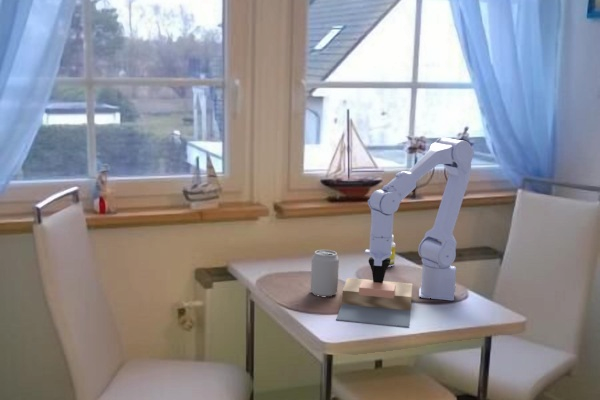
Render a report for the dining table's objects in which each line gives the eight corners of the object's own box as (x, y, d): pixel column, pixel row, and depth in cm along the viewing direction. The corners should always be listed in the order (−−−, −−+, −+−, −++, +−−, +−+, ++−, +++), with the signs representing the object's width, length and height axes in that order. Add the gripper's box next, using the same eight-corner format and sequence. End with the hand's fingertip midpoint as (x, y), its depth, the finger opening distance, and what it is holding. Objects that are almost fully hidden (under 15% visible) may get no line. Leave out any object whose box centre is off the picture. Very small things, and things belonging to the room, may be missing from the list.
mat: (410, 311, 190) (410, 310, 190) (408, 327, 178) (409, 326, 178) (341, 304, 193) (341, 303, 193) (336, 320, 181) (336, 319, 181)
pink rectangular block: (395, 291, 193) (395, 284, 192) (393, 298, 187) (394, 291, 187) (361, 288, 195) (361, 280, 194) (358, 294, 189) (359, 287, 188)
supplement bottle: (397, 264, 234) (399, 235, 232) (389, 268, 229) (391, 238, 227) (381, 261, 236) (383, 232, 235) (374, 265, 232) (376, 235, 230)
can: (328, 299, 196) (330, 257, 194) (305, 294, 200) (307, 252, 198) (342, 293, 203) (344, 251, 200) (319, 287, 206) (320, 246, 204)
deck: (411, 297, 201) (412, 283, 201) (410, 311, 190) (411, 296, 189) (346, 291, 204) (347, 277, 204) (341, 304, 193) (342, 290, 192)
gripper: (368, 228, 200) (365, 276, 202) (363, 240, 186) (360, 291, 188) (394, 230, 199) (391, 278, 201) (391, 242, 184) (387, 294, 187)
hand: (378, 284), depth 195 cm, fingers closed
